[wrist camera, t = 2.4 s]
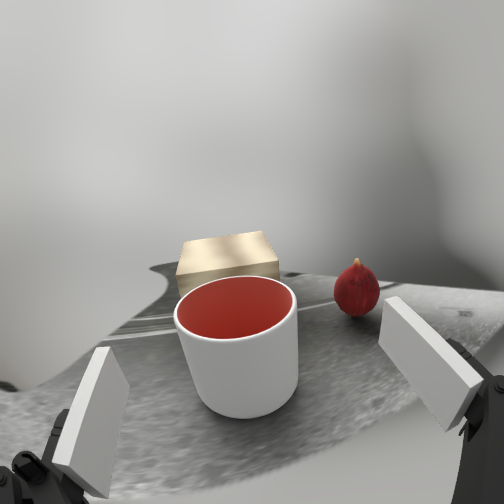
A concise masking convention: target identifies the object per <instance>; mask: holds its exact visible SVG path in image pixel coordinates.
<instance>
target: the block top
mask: <svg viewBox="0 0 504 504" xmlns="http://www.w3.org/2000/svg"><path fill="white" fill-rule="evenodd" d="M235 276H260V277H266V278H270V279H274V280H277V281H279V282H280V273H279V261H278V258H277V257H276V255H275V253H274V251H273V250H272V248H271V246H270V244H269V242H268V240H267V239H266V237H265V235H264V233H263V232H262V231H257V232H249V233H242V234H236V235H228V236H221V237H215V238H208V239H201V240H194V241H187V242H185V243H184V246H183V250H182V253H181V257H180V261H179V265H178V268H177V272H176V279H177V283H178V287H179V291H180V295H181V299H182V298H183V297H184V296H185V295H186V294H187V293H189V292H190V291H192V290H193V289H195V288H197V287H199V286H201V285H203V284H206V283H208V282H211V281H214V280H218V279H222V278H228V277H235Z"/></svg>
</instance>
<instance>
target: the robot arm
mask: <svg viewBox="0 0 504 504" xmlns="http://www.w3.org/2000/svg"><path fill="white" fill-rule="evenodd" d="M379 345H380V346H381V347H382V349H383V350H384V351H385V352H386V354H387V355H388V356H389V358H390V359H391V360H392V361H393V363H394V364H395V365H396V367H397V368H398V369H399V370H400V372H401V373H402V374H403V376H404V377H405V378H406V380H407V381H408V382H409V384H410V385H411V386H412V388H413V389H414V390H415V392H416V393H417V394H418V396H419V397H420V398H421V400H422V401H423V402H424V404H425V405H426V406H427V408H428V409H429V410H430V412H431V413H432V415H433V416H434V417H435V419H436V420H437V421H438V423H439V424H440V426H441V427H442V428H443V430H444V431H445V432H447V431H449V430H450V429H452V428H454V427H455V426H457V425H458V424H459V423H460V421H461V420H462V418H463V416H465V417H466V419H467V421H466V423H465V424H464V426H463V427H462V429H461V430H460V432H459V436H461V434H462V433H463V431H464V430H465V431H464V439H463V448H462V454H461V460H460V466H459V472H458V477H457V482H456V486H455V490H454V495H453V499H452V502H451V504H504V376H502V375H497V376H493V375H492V374H491V373H490V372H489V371H488V370H487V369H486V368H485V367H484V366H483V365H482V364H481V363H480V362H478V361H477V360H476V359H475V358H474V357H472V355H471V354H470V353H469V352H468V351H466V349H465V348H464V347H463V346H462V345H461V344H460V343H458V342H456V341H454V340H452V339H450V338H449V339H447V340H444V339H443V338H442V337H441V336H440V335H439V334H438V333H437V332H436V331H435V330H434V329H433V328H431V327H430V326H429V325H428V324H427V323H426V322H425V321H424V320H423V319H422V318H421V317H420V316H419V315H417V314H416V313H415V312H414V311H413V310H412V309H411V308H410V307H409V306H408V305H406V304H405V303H404V302H403V301H402V300H401V299H400V298H399V297H398V296H395V297H391V298H388V299H384V307H383V315H382V322H381V330H380V336H379ZM129 391H130V386H129V384H128V382H127V380H126V378H125V376H124V374H123V372H122V370H121V368H120V366H119V364H118V362H117V360H116V358H115V356H114V354H113V352H112V350H111V347H97V348H96V350H95V352H94V354H93V356H92V358H91V361H90V363H89V365H88V367H87V370H86V372H85V374H84V377H83V379H82V381H81V384H80V386H79V388H78V391H77V393H76V396H75V398H74V401H73V403H72V406H71V408H70V409H63V411H62V412H61V413H60V414H59V415H58V416H57V418H56V421H55V423H54V426H53V427H54V428H53V429H52V431H51V436H50V437H49V439H48V442H47V445H46V448H45V451H44V453H43V456H42V459H41V460H40V459H39V458H38V457H37V456H36V455H35V454H33V453H32V452H30V451H22V452H20V453H18V454H17V455H16V456H15V457H14V459H13V461H12V471H13V472H15V473H13V472H11V471H10V470H9V469H8V468H6V467H5V466H0V504H89V503H88V501H87V500H86V498H85V497H84V496H83V495H84V491H86V492H87V493H88V494H90V495H91V496H93V497H99V498H105V499H108V498H109V491H110V484H111V478H112V472H113V466H114V461H115V455H116V450H117V445H118V440H119V435H120V430H121V425H122V421H123V416H124V412H125V407H126V403H127V399H128V395H129Z"/></svg>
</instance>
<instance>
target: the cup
mask: <svg viewBox="0 0 504 504" xmlns="http://www.w3.org/2000/svg"><path fill="white" fill-rule="evenodd" d="M174 321H175V325H176V328H177V332H178V335H179V338H180V341H181V345H182V348H183V351H184V354H185V357H186V360H187V363H188V366H189V369H190V372H191V375H192V378H193V381H194V384H195V387H196V390H197V392H198V395H199V397H200V398H201V400H202V401H203V402H204V403H205V404H206V405H207V406H208V407H209V408H210V409H212V410H213V411H215V412H217V413H219V414H221V415H224V416H227V417H231V418H238V419H249V418H256V417H260V416H264V415H267V414H269V413H271V412H273V411H275V410H277V409H278V408H280V407H281V406H282V405H284V404H285V403H286V402H287V401H288V400H289V399H290V397H291V396H292V394H293V393H294V391H295V389H296V386H297V382H298V329H297V301H296V297H295V295H294V293H293V291H292V290H291V289H290V288H289V287H288V286H286V285H285V284H283V283H281V282H279V281H277V280H274V279H270V278H266V277H260V276H235V277H228V278H222V279H218V280H214V281H211V282H208V283H206V284H203V285H201V286H199V287H197V288H195V289H193V290H192V291H190V292H189V293H187V294H186V295H185V296H184V297H183V298H182V299H181V300H180V301H179V302H178V304H177V306H176V308H175V311H174Z"/></svg>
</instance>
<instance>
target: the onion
mask: <svg viewBox="0 0 504 504" xmlns="http://www.w3.org/2000/svg"><path fill="white" fill-rule="evenodd" d="M379 295H380V288H379V284H378V281H377V279H376V277H375V275H374V273H373V272H372V271H371V270H370V269H368V268H367V267H365V266H364V265H363V264H362V263H361V261H360V259H357V258H355V261H354V263H353V266H351V267H349V268H347V269H346V270H345V271H344V272H343V273H342V274H341V275H340V276H339V277H338V279H337V281H336V283H335V288H334V298H335V301H336V303H337V304H338V306H339V307H340V309H341V310H342V311H344V312H345V313H346V314H348V315H350V316H353V317H357V316H361V315H364V314H366V313H367V312H369V311H371V310H372V309H373V308H374V307H375V305H376V303H377V301H378V298H379Z"/></svg>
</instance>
